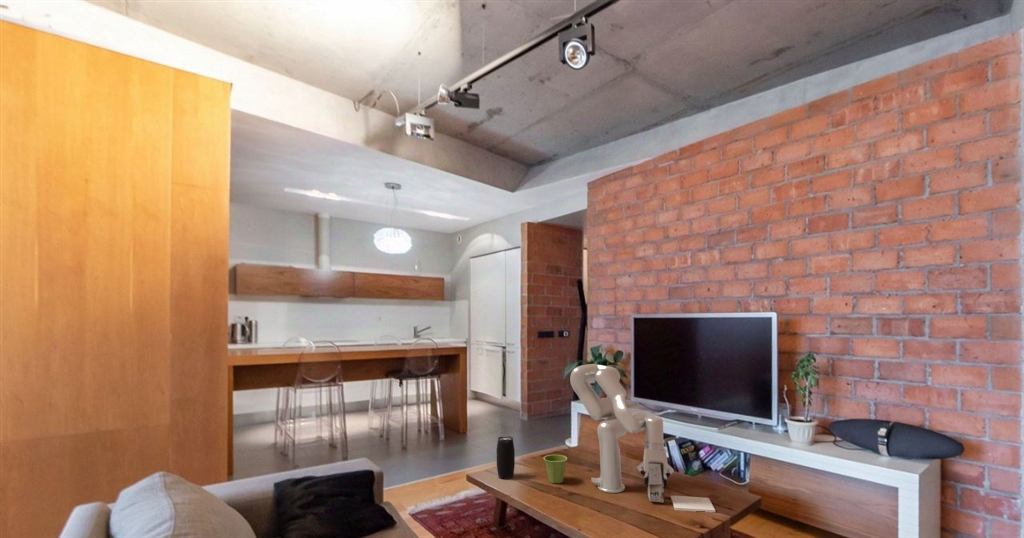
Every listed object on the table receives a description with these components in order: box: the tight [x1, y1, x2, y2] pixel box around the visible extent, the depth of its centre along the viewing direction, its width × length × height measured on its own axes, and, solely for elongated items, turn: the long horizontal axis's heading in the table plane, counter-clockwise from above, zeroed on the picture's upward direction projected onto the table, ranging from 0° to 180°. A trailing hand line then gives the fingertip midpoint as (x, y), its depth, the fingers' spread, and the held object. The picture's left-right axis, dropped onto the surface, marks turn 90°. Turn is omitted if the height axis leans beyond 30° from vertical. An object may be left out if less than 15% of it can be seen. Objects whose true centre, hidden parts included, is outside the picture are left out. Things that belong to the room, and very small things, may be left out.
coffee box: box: [647, 462, 665, 503], centre depth 203 cm, size 9×6×16 cm
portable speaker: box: [496, 435, 516, 480], centre depth 235 cm, size 9×9×20 cm
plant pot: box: [543, 454, 568, 484], centre depth 228 cm, size 12×12×11 cm
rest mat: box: [670, 495, 716, 513], centre depth 197 cm, size 16×13×1 cm
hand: (655, 486), depth 202 cm, fingers closed on coffee box, 6 cm apart
